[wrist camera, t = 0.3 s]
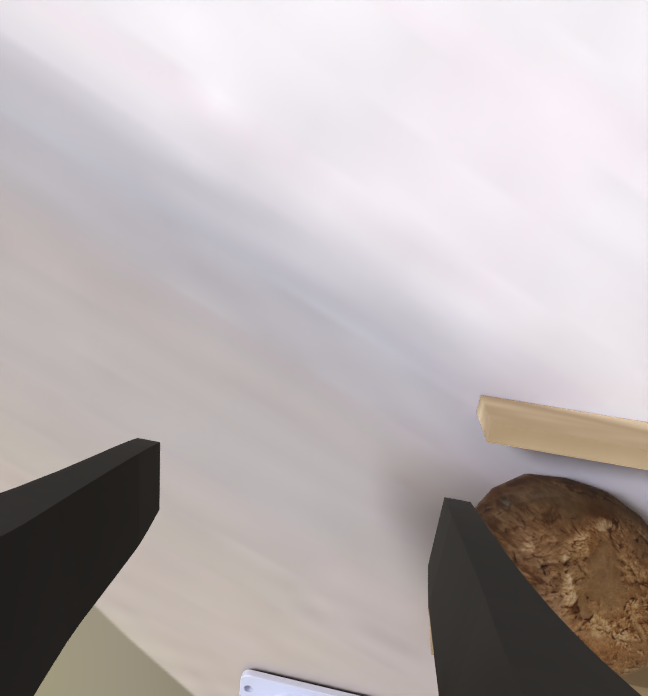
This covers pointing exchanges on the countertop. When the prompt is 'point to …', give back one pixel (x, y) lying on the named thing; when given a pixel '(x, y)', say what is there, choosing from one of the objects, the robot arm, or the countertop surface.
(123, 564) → the robot arm
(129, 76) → the countertop surface
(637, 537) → the mushroom
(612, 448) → the guide fence
